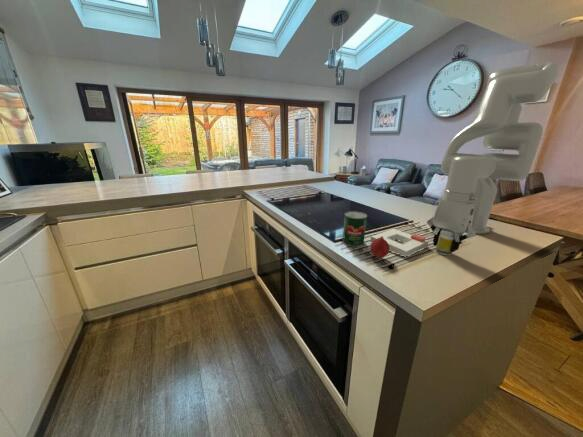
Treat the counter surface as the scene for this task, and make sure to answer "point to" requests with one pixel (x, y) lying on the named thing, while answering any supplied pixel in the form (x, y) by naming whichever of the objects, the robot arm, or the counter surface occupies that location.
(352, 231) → the canned tomato
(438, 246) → the supplement bottle
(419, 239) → the socket plate
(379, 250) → the onion
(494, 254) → the counter surface
